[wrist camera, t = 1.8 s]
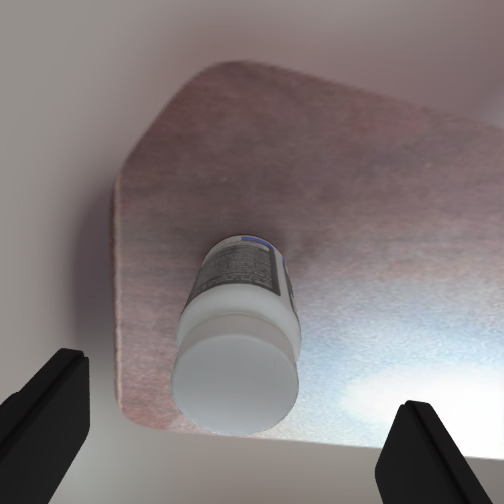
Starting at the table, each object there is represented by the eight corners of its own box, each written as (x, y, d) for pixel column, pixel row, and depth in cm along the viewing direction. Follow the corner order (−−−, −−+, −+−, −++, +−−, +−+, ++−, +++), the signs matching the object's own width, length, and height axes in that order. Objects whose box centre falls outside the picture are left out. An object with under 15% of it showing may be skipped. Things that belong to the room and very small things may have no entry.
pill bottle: (184, 275, 18) (124, 390, 10) (243, 215, 17) (228, 292, 9) (246, 327, 19) (237, 468, 11) (306, 274, 18) (343, 391, 10)
